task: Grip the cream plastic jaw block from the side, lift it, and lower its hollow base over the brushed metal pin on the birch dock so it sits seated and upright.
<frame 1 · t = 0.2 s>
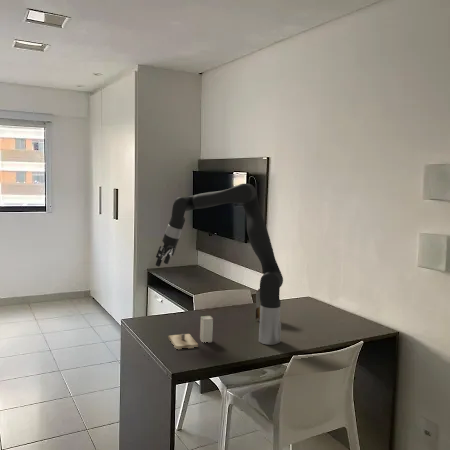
hand: (161, 264, 235), 31 cm above the table, tool tilted 20°, fingers open, 8 cm apart
pin dock: (182, 343, 214), on the table
jaw block: (205, 340, 218), on the table
coffee box: (264, 320, 252), on the table
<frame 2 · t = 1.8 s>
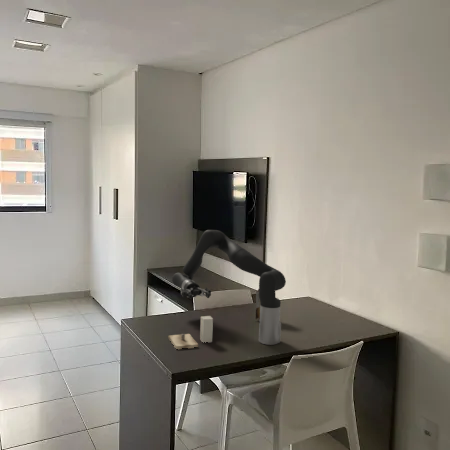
hand: (200, 296, 226), 18 cm above the table, tool horizontal, fingers open, 8 cm apart
nothing on the table moved.
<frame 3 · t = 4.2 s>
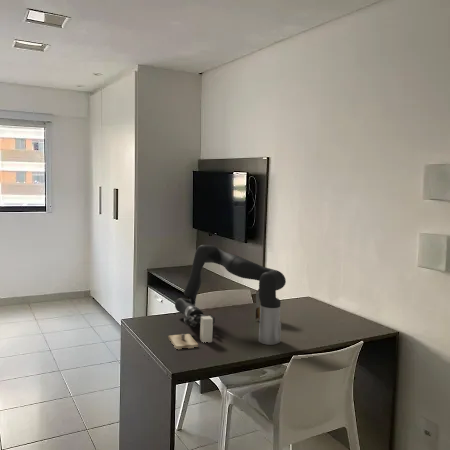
hand: (203, 324, 221), 6 cm above the table, tool horizontal, fingers open, 8 cm apart
nothing on the table moved.
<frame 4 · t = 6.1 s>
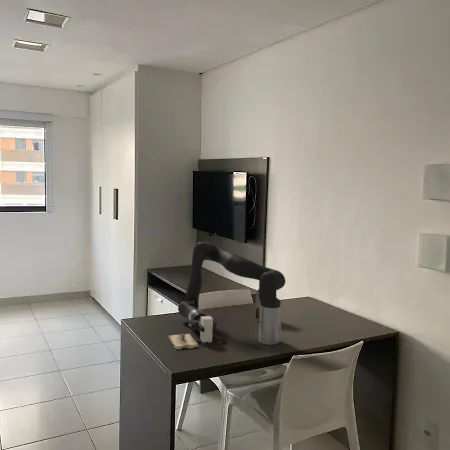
hand: (208, 329, 214), 7 cm above the table, tool horizontal, fingers closed on jaw block, 4 cm apart
jaw block: (206, 340, 218), on the table, touching gripper
everything else where it was.
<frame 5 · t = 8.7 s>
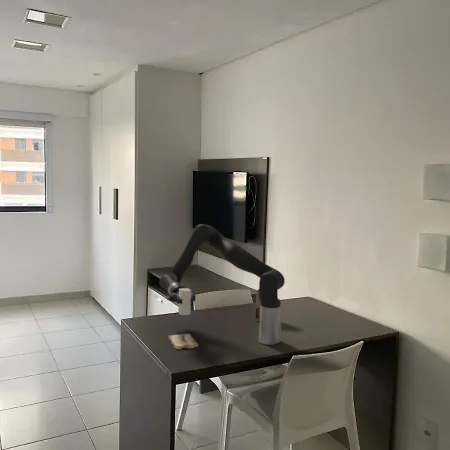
hand: (186, 301, 209), 20 cm above the table, tool horizontal, fingers closed on jaw block, 4 cm apart
jaw block: (184, 313, 213), point 14 cm above the table, touching gripper
everything else where it was.
when the fingers open (9 cm above the table, at t = 11.1 s): jaw block stays where it is, resting on pin dock.
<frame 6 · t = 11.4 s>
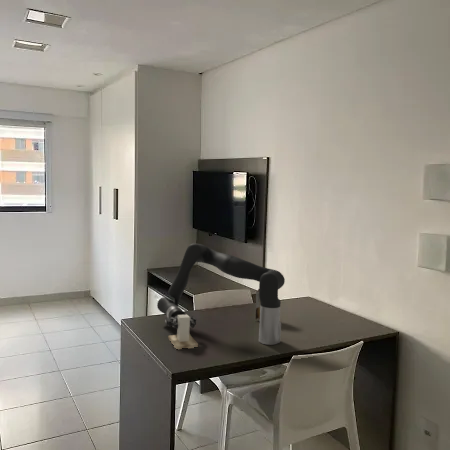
hand: (185, 326, 210), 9 cm above the table, tool horizontal, fingers open, 6 cm apart
jaw block: (182, 339, 214), point 2 cm above the table, touching pin dock
everything else where it was.
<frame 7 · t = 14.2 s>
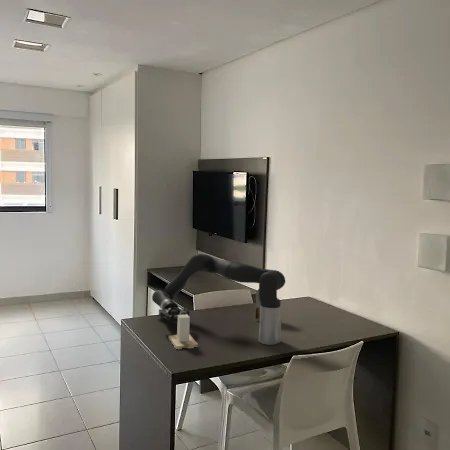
hand: (177, 317, 222), 9 cm above the table, tool horizontal, fingers open, 8 cm apart
nothing on the table moved.
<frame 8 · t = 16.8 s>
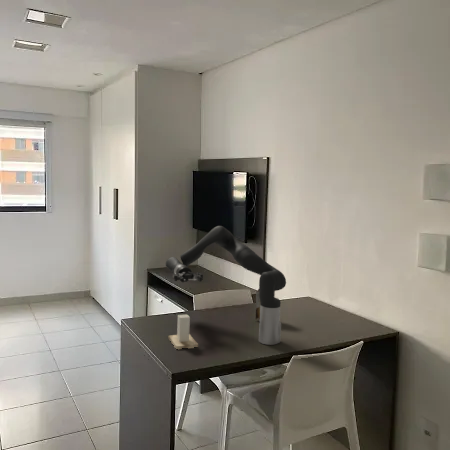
hand: (192, 280, 225), 26 cm above the table, tool horizontal, fingers open, 8 cm apart
nothing on the table moved.
at the end: jaw block 0.0 cm off-centre on the pin dock, point 1.5 cm above the pin dock's base; jaw block tilted 0°; the gripper is holding nothing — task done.
